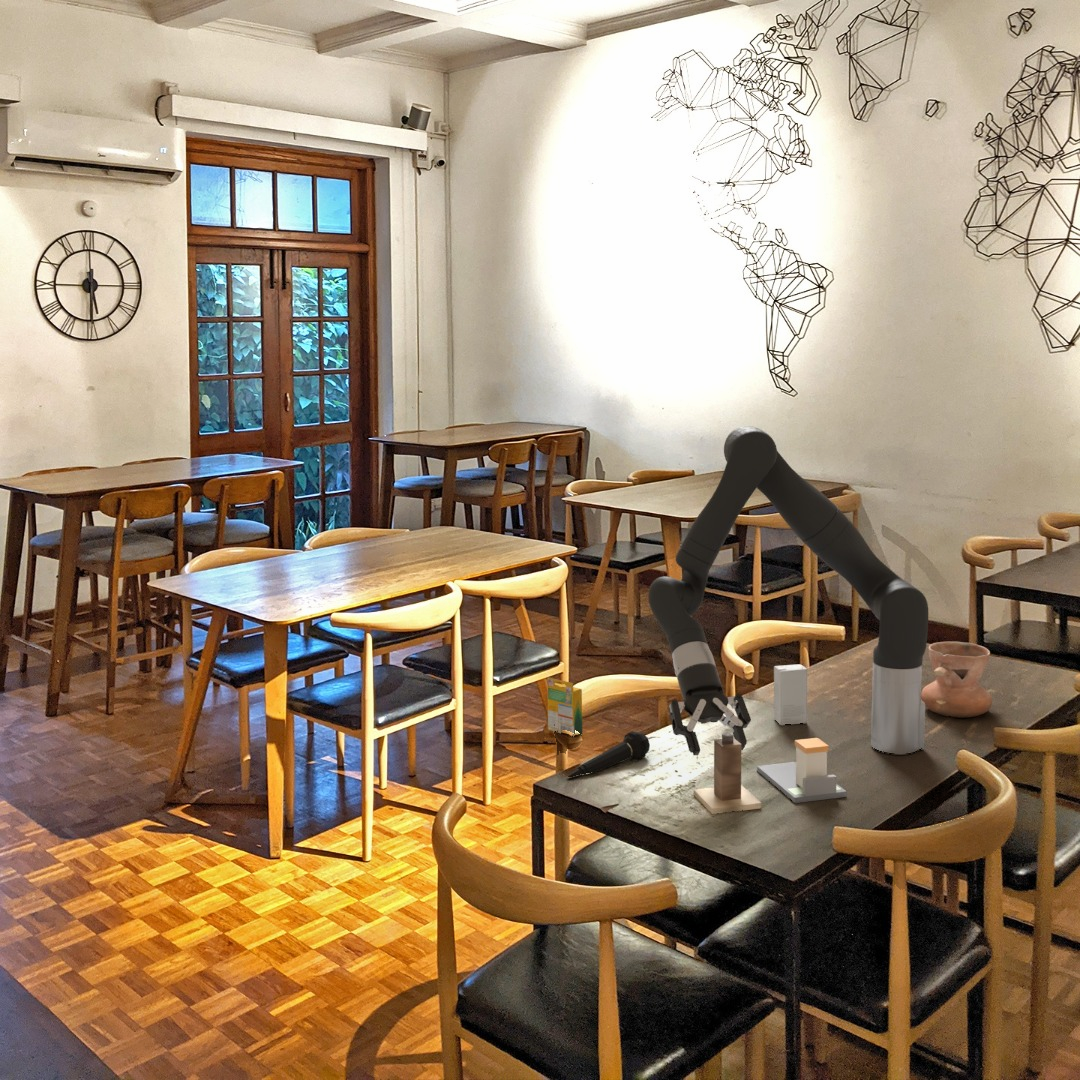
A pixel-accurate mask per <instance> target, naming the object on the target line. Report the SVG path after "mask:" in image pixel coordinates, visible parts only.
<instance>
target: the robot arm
mask: <svg viewBox="0 0 1080 1080" xmlns="http://www.w3.org/2000/svg"><path fill="white" fill-rule="evenodd" d="M723 454H724V455H723V456H724V459H725V461H726V464H725V468H724V470H723V472H722V476H721V478H720V481H719V483H718V484H717V486H716V488H715V491H714V492H713V494H712V496H711V497H710V499H709V500H708V502H707V503H706V504H705V506H704V507H703V509H702V510H701V511H700V513H699V514H698V516H697V517H696V518H695V519H694V521H693V523H692V524H691V525H690V528H689V529H688V532H687V533H686V535H685V537H684V539H683V541H682V543H681V544H680V546H679V549H678V551H677V553H676V555H675V563H676V564H677V565H678V566H679V567H680V568H681V569H682V570H683V572H682V577H681V579H680V580H679V579H676V578H674V577H670V576H660V577H657V578H656V579H654V580H653V581H652V583H651V584H650V586H649V588H648V598H647V599H648V604H649V607H650V609H651V612H652V614H653V616H654V618H655V620H656V621H657V623H658V625H659V627H660V628H661V630H662V632H663V633H664V635H665V636H666V639H667V641H668V642H667V643H668V646H669V650H670V653H671V657H672V662H673V663H672V664H673V668H674V674H675V676H676V678H677V683H678V685H679V689H680V693H681V694H680V695H681V696H682V699H683V701H678V700H677V699H672V700H671V702H670V704H669V706H668V712H669V717H670V723H671V727H672V728H671V729H672V733H673V734H674V735H675V736H679V735H680V736H684V738H685V741H686V744H687V747H688V752H690V753H691V754H692V755H693V756H699V754H700V753H701V748H700V744H699V740H698V736H697V734H696V731H694V729H695V727H696V725H697V723H701V724H702V725H703V724H708V723H713V724H714V723H718V721H719V722H720V723H721V724H722V725H724V726H726V727H728V728H729V729H730V730H732V734H733V735H734V739H736V740H737V741H738V742H739V743H741V751H743V750H744V749H745V748H746V745H747V742H748V741H747V738H746V734H745V731H744V729H746V728H747V727H748V725H749V724H750V722H751V721H752V719H751V715H750V713H749V710H748V708H747V705H746V703H745V700H744V698H743V695H742V694H741V693H740V692H738V693H736V694H735V695H734V696H728V697H727V695H726V694H725V693H724V690H723V689H724V688H723V685H722V681H721V679H720V676H719V671H718V669H717V666H716V662H715V659H714V656H713V653H712V651H711V650H710V648H709V644H708V641H707V638H706V635H705V634H706V633H705V632H704V631H705V630H704V628H703V625H702V624H701V623H700V621H698V620H697V619H696V618H694V617H693V615H694V614H696V613H697V611H698V610H699V608H700V607H701V606H702V602H703V599H704V596H705V591H706V587H707V582H708V579H709V574H710V570H711V568H712V567H713V564H714V562H715V560H716V558H717V557H718V555H719V554H720V552H721V549H722V547H723V545H724V543H725V541H726V539H727V537H728V535H729V534H730V533H731V530H732V528H733V527H734V525H735V523H736V521H737V518H738V517H739V515H740V513H741V511H742V510H743V508H744V507H745V505H746V504H747V502H748V501H749V499H750V497H752V495H753V493H755V491H756V489H757V490H759V491H760V492H761V493H762V494H763V495H764V497H766V498H767V500H768V501H769V502H770V503H771V504H772V506H773V507H774V508H775V510H776V512H778V514H779V515H780V516H781V517H782V519H783V520H784V521H785V523H786V524H787V525H788V526H789V528H790V529H791V530H792V532H794V534H795V535H796V536H797V537H798V538H799V539H800V540H801V542H803V543H804V544H805V545H806V546H807V547H808V548H809V550H810V551H811V552H812V553H813V554H815V556H817V557H818V558H819V559H820V560H821V561H822V562H823V563H824V564H826V565H827V567H829V568H831V569H832V570H833V571H835V572H836V573H837V574H839V575H840V576H841V577H842V578H843V579H845V580H846V581H847V582H848V583H849V585H850V586H851V587H852V588H853V589H854V590H855V591H856V592H857V594H858V595H859V597H860V598H861V599H862V600H863V601H864V603H865V605H867V606H868V608H869V609H870V610H871V612H872V614H873V615H874V616H875V617H876V619H877V620H878V621H879V629H878V630H879V631H878V643H877V645H876V646H875V647H874V649H873V655H872V684H871V685H872V690H871V728H870V729H871V730H870V731H871V732H870V746H871V745H872V746H871V748H872V747H873V748H872V749H874V748H875V749H877V750H879V751H878V752H880V751H882V752H881V753H884V752H891V753H909V752H914V751H916V750H918V749H921V748H924V749H925V729H926V728H925V726H926V725H925V724H926V723H925V722H926V706H925V702H923V701H922V700H921V692H922V688H923V686H922V683H923V682H922V681H923V657H924V654H925V652H926V650H927V641H928V630H929V604H928V601H927V598H926V596H925V594H923V592H922V591H921V590H920V589H918V588H917V587H915V586H914V585H912V584H911V583H910V582H908V581H906V580H905V579H903V578H902V577H901V576H899V575H897V574H896V573H895V572H894V571H893V570H892V569H890V568H889V567H888V566H887V565H886V564H885V563H884V562H883V561H881V559H879V557H877V556H876V555H875V554H874V552H873V551H872V550H871V547H870V546H869V544H868V543H867V542H866V540H865V538H864V536H863V535H862V534H861V533H860V531H859V530H858V528H857V527H856V526H855V524H853V522H852V521H851V520H850V519H849V518H848V516H846V514H844V512H843V511H842V510H840V508H839V507H838V506H837V505H836V504H835V503H834V502H832V500H831V499H829V498H828V497H827V496H826V495H825V494H824V493H822V492H821V491H820V490H819V489H818V488H817V487H815V486H814V485H813V484H811V483H810V482H809V481H807V480H806V479H805V478H803V477H802V476H801V475H800V474H799V473H798V472H796V471H795V470H794V469H793V468H792V467H791V466H790V465H789V463H788V462H787V461H786V459H784V457H783V456H782V455H781V453H780V452H779V451H778V448H777V445H776V442H775V441H774V439H773V437H772V436H771V435H769V433H767V432H766V431H764V430H762V429H761V428H758V427H755V426H741V427H738V428H736V429H733V430H732V431H731V432H729V434H728V435H727V437H726V439H725V441H724V445H723ZM728 705H729V706H730V707H731V709H732V710H733V709H734V711H735V713H734V712H733V711H732V710H731V709H730V708H729V707H728ZM682 711H685V712H686V713H687V714H688V715H690V718H689V721H688V723H687V725H684V723H683V719H682V715H681V713H682ZM735 714H736V715H735ZM875 749H874V750H875ZM877 750H876V751H877ZM921 750H922V749H921ZM883 751H884V752H883ZM918 751H919V750H918Z"/></svg>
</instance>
